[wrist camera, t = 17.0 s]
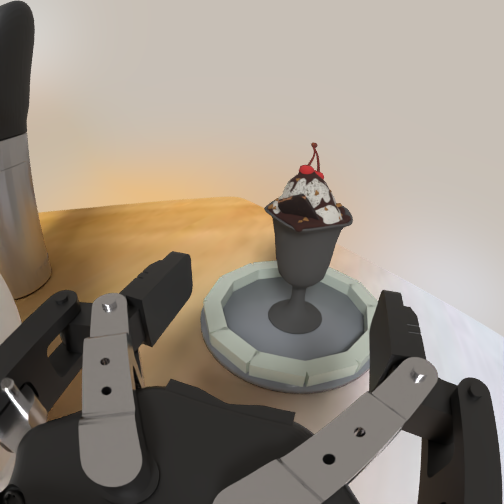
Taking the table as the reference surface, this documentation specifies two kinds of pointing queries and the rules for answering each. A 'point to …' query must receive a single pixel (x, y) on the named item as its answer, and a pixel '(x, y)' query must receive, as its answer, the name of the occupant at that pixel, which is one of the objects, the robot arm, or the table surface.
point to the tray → (285, 344)
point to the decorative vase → (3, 325)
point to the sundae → (304, 244)
